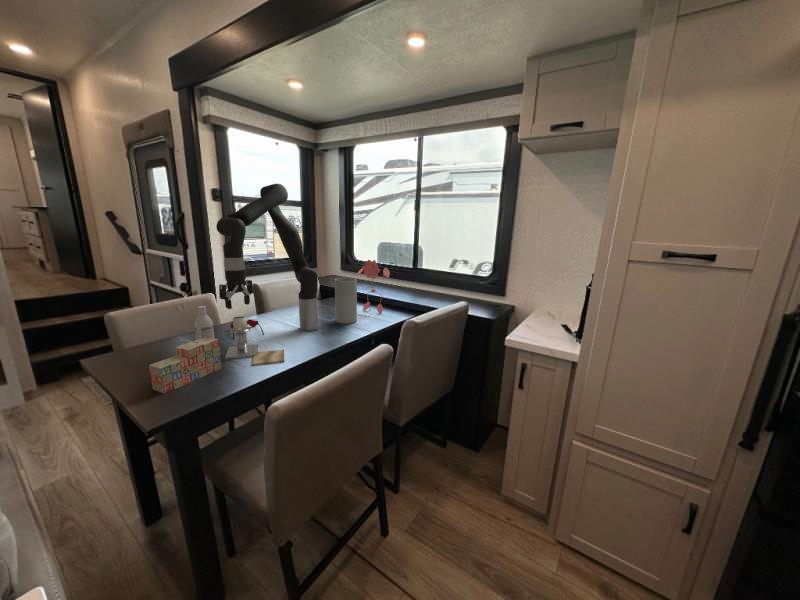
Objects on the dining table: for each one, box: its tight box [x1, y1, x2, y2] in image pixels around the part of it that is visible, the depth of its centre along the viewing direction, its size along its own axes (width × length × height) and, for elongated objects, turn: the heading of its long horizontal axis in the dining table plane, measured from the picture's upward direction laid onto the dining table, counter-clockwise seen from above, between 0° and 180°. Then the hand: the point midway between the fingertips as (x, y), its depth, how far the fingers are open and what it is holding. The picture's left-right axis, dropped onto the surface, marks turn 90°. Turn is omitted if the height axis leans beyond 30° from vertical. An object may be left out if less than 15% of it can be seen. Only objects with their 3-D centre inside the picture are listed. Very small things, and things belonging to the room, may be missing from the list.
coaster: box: [251, 348, 285, 366], centre depth 133 cm, size 12×12×1 cm
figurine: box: [355, 259, 391, 318], centre depth 199 cm, size 15×26×35 cm, turn 61°
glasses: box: [229, 318, 265, 340], centre depth 163 cm, size 14×16×5 cm
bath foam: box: [193, 305, 216, 340], centre depth 137 cm, size 7×7×20 cm
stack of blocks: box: [148, 337, 223, 394], centre depth 113 cm, size 21×6×12 cm, turn 157°
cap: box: [232, 315, 248, 331], centre depth 135 cm, size 5×7×6 cm
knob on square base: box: [224, 326, 259, 361], centre depth 136 cm, size 12×12×11 cm
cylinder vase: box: [334, 277, 358, 325], centre depth 184 cm, size 12×12×25 cm
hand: (238, 306), depth 133 cm, fingers open, 8 cm apart
